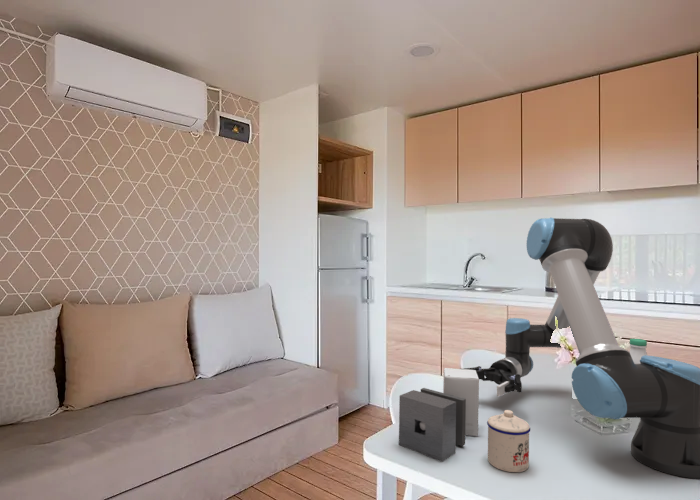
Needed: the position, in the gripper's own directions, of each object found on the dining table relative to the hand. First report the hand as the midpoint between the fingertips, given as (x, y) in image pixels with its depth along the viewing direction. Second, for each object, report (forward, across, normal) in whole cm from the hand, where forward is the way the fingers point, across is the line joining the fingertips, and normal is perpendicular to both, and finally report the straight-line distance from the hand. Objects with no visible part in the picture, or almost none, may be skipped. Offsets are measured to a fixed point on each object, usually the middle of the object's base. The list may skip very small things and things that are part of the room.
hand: (474, 385), depth 119 cm
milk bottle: (-52, -31, -10) cm, 61 cm away
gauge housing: (+20, +2, -10) cm, 22 cm away
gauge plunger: (+22, +1, -9) cm, 23 cm away
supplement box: (+8, 0, -10) cm, 13 cm away
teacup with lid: (+16, -17, -10) cm, 25 cm away
